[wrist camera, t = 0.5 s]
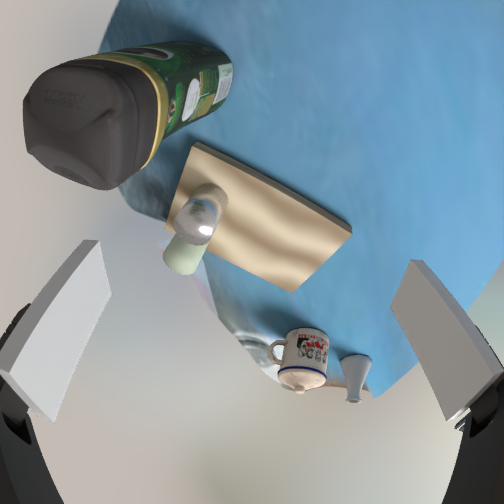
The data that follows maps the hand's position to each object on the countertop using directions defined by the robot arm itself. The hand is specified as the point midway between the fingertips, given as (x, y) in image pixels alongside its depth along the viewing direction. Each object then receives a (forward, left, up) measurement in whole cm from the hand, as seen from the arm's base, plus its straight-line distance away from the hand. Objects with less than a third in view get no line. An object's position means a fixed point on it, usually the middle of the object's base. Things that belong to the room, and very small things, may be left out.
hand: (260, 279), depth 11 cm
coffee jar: (0, -13, -21) cm, 25 cm away
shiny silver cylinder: (+13, -5, -19) cm, 24 cm away
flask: (+34, +37, -21) cm, 55 cm away
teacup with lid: (+33, +21, -21) cm, 45 cm away
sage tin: (+19, -5, -19) cm, 27 cm away
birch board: (+14, +1, -21) cm, 25 cm away
